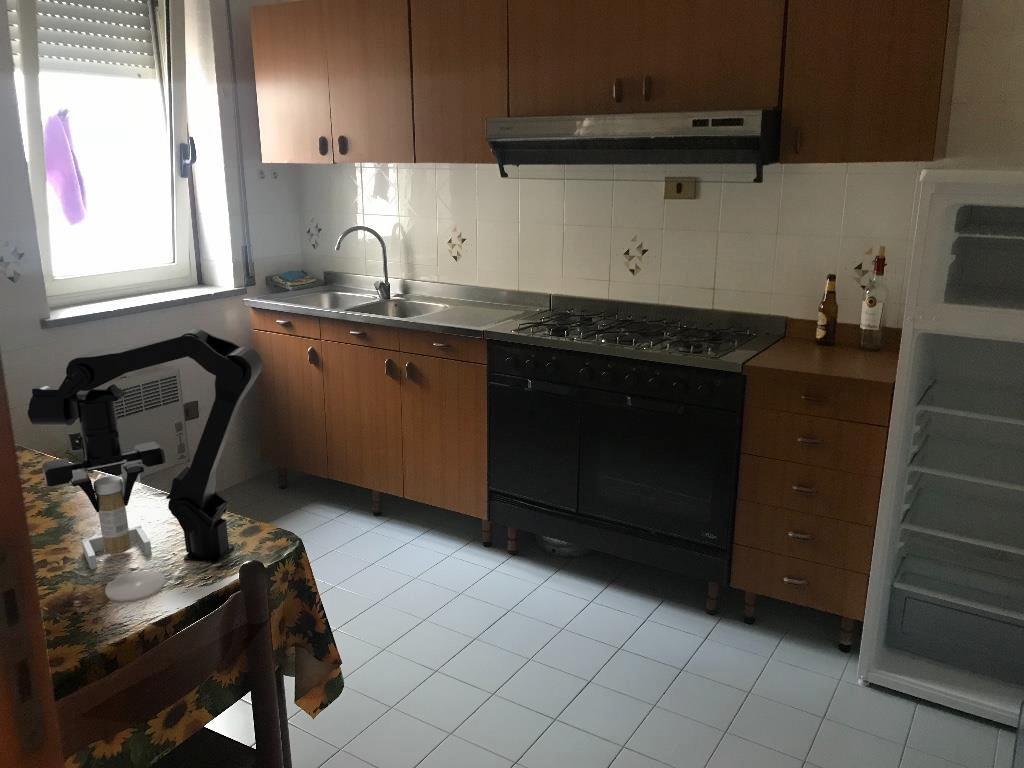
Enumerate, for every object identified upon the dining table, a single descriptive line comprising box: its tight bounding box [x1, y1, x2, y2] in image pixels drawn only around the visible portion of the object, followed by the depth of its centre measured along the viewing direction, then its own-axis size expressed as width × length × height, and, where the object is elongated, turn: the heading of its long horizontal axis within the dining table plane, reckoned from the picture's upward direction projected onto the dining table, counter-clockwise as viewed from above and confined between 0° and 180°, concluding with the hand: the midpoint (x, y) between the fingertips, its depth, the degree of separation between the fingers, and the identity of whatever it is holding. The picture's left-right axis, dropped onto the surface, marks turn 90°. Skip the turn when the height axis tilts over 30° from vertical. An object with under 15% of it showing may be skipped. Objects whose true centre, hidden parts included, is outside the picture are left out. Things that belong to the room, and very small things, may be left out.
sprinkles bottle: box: [92, 475, 132, 555], centre depth 147 cm, size 5×5×14 cm
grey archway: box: [81, 525, 153, 570], centre depth 149 cm, size 8×10×2 cm
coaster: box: [104, 570, 166, 603], centre depth 137 cm, size 9×9×1 cm
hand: (111, 508), depth 147 cm, fingers closed on sprinkles bottle, 4 cm apart
